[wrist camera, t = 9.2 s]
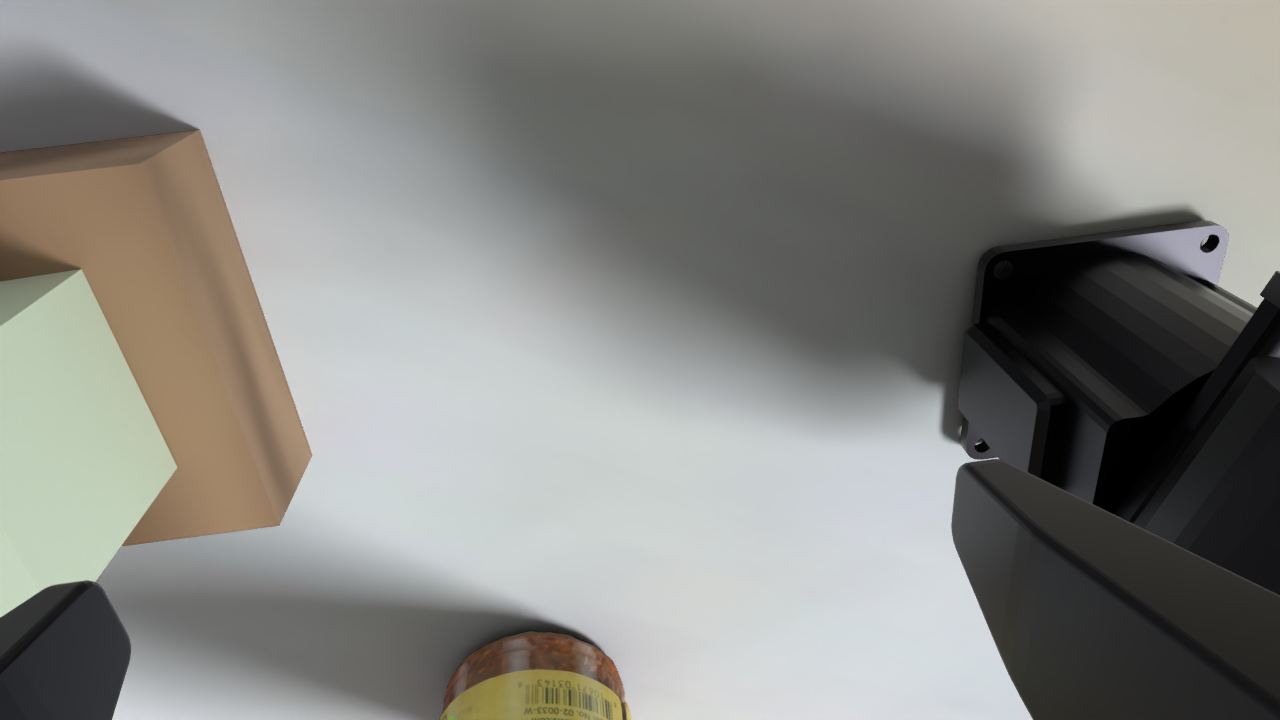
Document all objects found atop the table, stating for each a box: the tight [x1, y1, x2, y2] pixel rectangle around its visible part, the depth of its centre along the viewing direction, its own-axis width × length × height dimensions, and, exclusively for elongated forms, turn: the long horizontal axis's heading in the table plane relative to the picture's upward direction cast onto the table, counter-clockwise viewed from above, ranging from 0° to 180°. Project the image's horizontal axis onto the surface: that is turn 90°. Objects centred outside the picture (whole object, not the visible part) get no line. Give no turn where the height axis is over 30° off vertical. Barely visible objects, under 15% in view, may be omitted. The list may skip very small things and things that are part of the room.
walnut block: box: [0, 130, 312, 546], centre depth 20 cm, size 9×9×4 cm
